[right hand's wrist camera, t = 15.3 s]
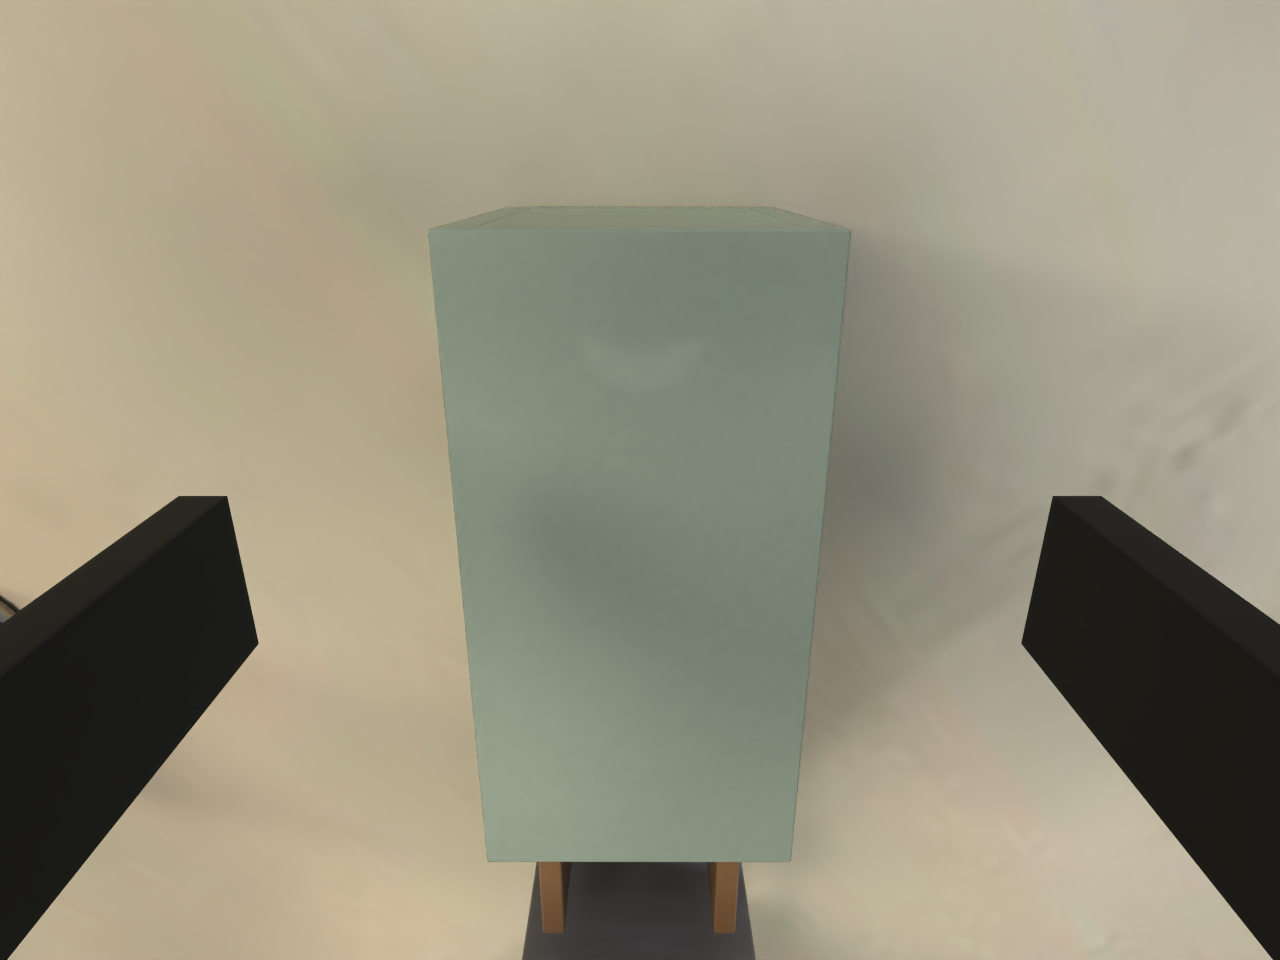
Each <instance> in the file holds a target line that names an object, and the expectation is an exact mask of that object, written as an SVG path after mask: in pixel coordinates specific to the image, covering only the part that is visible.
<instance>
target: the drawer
mask: <svg viewBox="0 0 1280 960" xmlns="http://www.w3.org/2000/svg"><path fill="white" fill-rule="evenodd" d="M522 960H756V959H755V952H754V945H753V938H752V931H751V924H750V918H749V911H748V904H747V897H746V890H745V883H744V876H743V870H742V863H741V862H537V864H536V870H535V877H534V884H533V890H532V897H531V904H530V910H529V917H528V924H527V930H526V937H525V944H524V951H523V957H522Z"/></svg>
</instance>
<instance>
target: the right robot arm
mask: <svg viewBox="0 0 1280 960" xmlns="http://www.w3.org/2000/svg"><path fill="white" fill-rule="evenodd" d="M258 644H259V643H258V638H257V634H256V629H255V624H254V620H253V615H252V610H251V606H250V601H249V596H248V592H247V587H246V582H245V578H244V573H243V568H242V564H241V559H240V554H239V550H238V545H237V540H236V536H235V531H234V526H233V522H232V517H231V512H230V508H229V503H228V498H227V496H178V497H177V498H176V499H174V500H173V501H171V502H170V503H169V504H167V505H166V506H165V507H163V508H162V509H160V510H159V511H158V512H156V513H155V514H153V515H152V516H151V517H149V518H148V519H146V520H145V521H144V522H142V523H141V524H139V525H138V526H137V527H135V528H134V529H133V530H131V531H130V532H128V533H127V534H126V535H124V536H123V537H121V538H120V539H119V540H117V541H116V542H114V543H113V544H112V545H110V546H109V547H108V548H106V549H105V550H103V551H102V552H101V553H99V554H98V555H96V556H95V557H94V558H92V559H91V560H89V561H88V562H87V563H85V564H84V565H83V566H81V567H80V568H78V569H77V570H76V571H74V572H73V573H71V574H70V575H69V576H67V577H66V578H64V579H63V580H62V581H60V582H59V583H57V584H56V585H55V586H53V587H52V588H51V589H49V590H48V591H46V592H45V593H44V594H42V595H41V596H39V597H38V598H37V599H35V600H34V601H32V602H31V603H30V604H28V605H27V606H26V607H24V608H23V609H21V610H20V611H19V612H17V613H16V614H14V615H13V616H12V617H10V618H9V619H7V620H6V621H5V622H3V623H2V624H1V625H0V960H7V959H8V958H9V957H10V955H11V954H12V953H13V952H14V950H15V949H16V948H17V946H18V945H19V944H20V943H21V941H22V940H23V939H24V938H25V936H26V935H27V934H28V933H29V931H30V930H31V929H32V928H33V926H34V925H35V924H36V923H37V921H38V920H39V919H40V918H41V916H42V915H43V914H44V913H45V911H46V910H47V909H48V908H49V906H50V905H51V904H52V903H53V901H54V900H55V899H56V897H57V896H58V895H59V894H60V892H61V891H62V890H63V889H64V887H65V886H66V885H67V884H68V882H69V881H70V880H71V879H72V877H73V876H74V875H75V874H76V872H77V871H78V870H79V869H80V867H81V866H82V865H83V864H84V862H85V861H86V860H87V859H88V857H89V856H90V855H91V854H92V852H93V851H94V850H95V848H96V847H97V846H98V845H99V843H100V842H101V841H102V840H103V838H104V837H105V836H106V835H107V833H108V832H109V831H110V830H111V828H112V827H113V826H114V825H115V823H116V822H117V821H118V820H119V818H120V817H121V816H122V815H123V813H124V812H125V811H126V810H127V808H128V807H129V806H130V805H131V803H132V802H133V801H134V799H135V798H136V797H137V796H138V794H139V793H140V792H141V791H142V789H143V788H144V787H145V786H146V784H147V783H148V782H149V781H150V779H151V778H152V777H153V776H154V774H155V773H156V772H157V771H158V769H159V768H160V767H161V766H162V764H163V763H164V762H165V761H166V759H167V758H168V757H169V756H170V754H171V753H172V752H173V750H174V749H175V748H176V747H177V745H178V744H179V743H180V742H181V740H182V739H183V738H184V737H185V735H186V734H187V733H188V732H189V730H190V729H191V728H192V727H193V725H194V724H195V723H196V722H197V720H198V719H199V718H200V717H201V715H202V714H203V713H204V712H205V710H206V709H207V708H208V707H209V705H210V704H211V703H212V701H213V700H214V699H215V698H216V696H217V695H218V694H219V693H220V691H221V690H222V689H223V688H224V686H225V685H226V684H227V683H228V681H229V680H230V679H231V678H232V676H233V675H234V674H235V673H236V671H237V670H238V669H239V668H240V666H241V665H242V664H243V663H244V661H245V660H246V659H247V658H248V656H249V655H250V654H251V652H252V651H253V650H254V649H255V647H256V646H257V645H258ZM1021 644H1022V645H1023V646H1024V647H1025V649H1026V650H1027V651H1028V652H1029V654H1030V655H1031V656H1032V658H1033V659H1034V660H1035V661H1036V663H1037V664H1038V665H1039V666H1040V668H1041V669H1042V670H1043V671H1044V673H1045V674H1046V675H1047V676H1048V678H1049V679H1050V680H1051V681H1052V683H1053V684H1054V685H1055V686H1056V688H1057V689H1058V690H1059V691H1060V693H1061V694H1062V695H1063V696H1064V698H1065V699H1066V700H1067V701H1068V703H1069V704H1070V705H1071V707H1072V708H1073V709H1074V710H1075V712H1076V713H1077V714H1078V715H1079V717H1080V718H1081V719H1082V720H1083V722H1084V723H1085V724H1086V725H1087V727H1088V728H1089V729H1090V730H1091V732H1092V733H1093V734H1094V735H1095V737H1096V738H1097V739H1098V740H1099V742H1100V743H1101V744H1102V745H1103V747H1104V748H1105V749H1106V750H1107V752H1108V753H1109V754H1110V756H1111V757H1112V758H1113V759H1114V761H1115V762H1116V763H1117V764H1118V766H1119V767H1120V768H1121V769H1122V771H1123V772H1124V773H1125V774H1126V776H1127V777H1128V778H1129V779H1130V781H1131V782H1132V783H1133V784H1134V786H1135V787H1136V788H1137V789H1138V791H1139V792H1140V793H1141V794H1142V796H1143V797H1144V798H1145V799H1146V801H1147V802H1148V803H1149V805H1150V806H1151V807H1152V808H1153V810H1154V811H1155V812H1156V813H1157V815H1158V816H1159V817H1160V818H1161V820H1162V821H1163V822H1164V823H1165V825H1166V826H1167V827H1168V828H1169V830H1170V831H1171V832H1172V833H1173V835H1174V836H1175V837H1176V838H1177V840H1178V841H1179V842H1180V843H1181V845H1182V846H1183V847H1184V848H1185V850H1186V851H1187V852H1188V854H1189V855H1190V856H1191V857H1192V859H1193V860H1194V861H1195V862H1196V864H1197V865H1198V866H1199V867H1200V869H1201V870H1202V871H1203V872H1204V874H1205V875H1206V876H1207V877H1208V879H1209V880H1210V881H1211V882H1212V884H1213V885H1214V886H1215V887H1216V889H1217V890H1218V891H1219V892H1220V894H1221V895H1222V896H1223V897H1224V899H1225V900H1226V901H1227V903H1228V904H1229V905H1230V906H1231V908H1232V909H1233V910H1234V911H1235V913H1236V914H1237V915H1238V916H1239V918H1240V919H1241V920H1242V921H1243V923H1244V924H1245V925H1246V926H1247V928H1248V929H1249V930H1250V931H1251V933H1252V934H1253V935H1254V936H1255V938H1256V939H1257V940H1258V941H1259V943H1260V944H1261V945H1262V947H1263V948H1264V949H1265V950H1266V952H1267V953H1268V954H1269V955H1270V957H1271V958H1272V959H1273V960H1280V625H1279V624H1278V623H1277V622H1275V621H1274V620H1273V619H1271V618H1270V617H1268V616H1267V615H1266V614H1264V613H1263V612H1261V611H1260V610H1259V609H1257V608H1256V607H1254V606H1253V605H1252V604H1250V603H1249V602H1248V601H1246V600H1245V599H1243V598H1242V597H1241V596H1239V595H1238V594H1236V593H1235V592H1234V591H1232V590H1231V589H1229V588H1228V587H1227V586H1225V585H1224V584H1223V583H1221V582H1220V581H1218V580H1217V579H1216V578H1214V577H1213V576H1211V575H1210V574H1209V573H1207V572H1206V571H1204V570H1203V569H1202V568H1200V567H1199V566H1197V565H1196V564H1195V563H1193V562H1192V561H1191V560H1189V559H1188V558H1186V557H1185V556H1184V555H1182V554H1181V553H1179V552H1178V551H1177V550H1175V549H1174V548H1172V547H1171V546H1170V545H1168V544H1167V543H1166V542H1164V541H1163V540H1161V539H1160V538H1159V537H1157V536H1156V535H1154V534H1153V533H1152V532H1150V531H1149V530H1147V529H1146V528H1145V527H1143V526H1142V525H1141V524H1139V523H1138V522H1136V521H1135V520H1134V519H1132V518H1131V517H1129V516H1128V515H1127V514H1125V513H1124V512H1122V511H1121V510H1120V509H1118V508H1117V507H1115V506H1114V505H1113V504H1111V503H1110V502H1109V501H1107V500H1106V499H1104V498H1103V497H1102V496H1053V498H1052V503H1051V508H1050V512H1049V517H1048V522H1047V526H1046V531H1045V536H1044V540H1043V545H1042V550H1041V554H1040V559H1039V564H1038V568H1037V573H1036V578H1035V582H1034V587H1033V592H1032V596H1031V601H1030V606H1029V610H1028V615H1027V620H1026V624H1025V629H1024V634H1023V638H1022V643H1021Z"/></svg>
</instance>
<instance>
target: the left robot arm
mask: <svg viewBox="0 0 1280 960" xmlns="http://www.w3.org/2000/svg"><path fill="white" fill-rule="evenodd" d="M14 614H16V613H15V612H14V611H13V610H12V609H11V608H9V607H8V606H7V605H6V604H4V603H3V602H1V601H0V625H1V624H2V623H3V622H5V621H6V620H7V619H9V618H10V617H12V616H13V615H14Z"/></svg>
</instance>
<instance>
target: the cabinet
mask: <svg viewBox="0 0 1280 960" xmlns="http://www.w3.org/2000/svg"><path fill="white" fill-rule="evenodd" d="M428 236H429V246H430V257H431V268H432V278H433V289H434V299H435V310H436V321H437V331H438V342H439V353H440V363H441V374H442V384H443V395H444V406H445V416H446V427H447V438H448V448H449V459H450V469H451V480H452V491H453V501H454V512H455V523H456V533H457V544H458V554H459V565H460V576H461V586H462V597H463V608H464V618H465V629H466V639H467V650H468V661H469V671H470V682H471V692H472V703H473V714H474V724H475V735H476V746H477V756H478V767H479V777H480V788H481V799H482V809H483V820H484V831H485V841H486V852H487V860H488V861H489V862H790V861H791V852H792V841H793V831H794V820H795V810H796V799H797V789H798V779H799V768H800V758H801V747H802V737H803V727H804V716H805V706H806V695H807V685H808V674H809V664H810V654H811V643H812V633H813V622H814V612H815V601H816V591H817V581H818V570H819V560H820V549H821V539H822V529H823V518H824V508H825V497H826V487H827V476H828V466H829V456H830V445H831V435H832V424H833V414H834V403H835V393H836V383H837V372H838V362H839V351H840V341H841V331H842V320H843V310H844V299H845V289H846V278H847V268H848V258H849V247H850V237H851V231H850V230H849V229H845V228H842V227H838V226H834V225H831V224H828V223H824V222H821V221H817V220H814V219H810V218H807V217H803V216H800V215H796V214H793V213H790V212H786V211H783V210H779V209H776V208H773V207H506V208H503V209H499V210H496V211H492V212H489V213H485V214H482V215H478V216H475V217H471V218H468V219H464V220H460V221H457V222H453V223H450V224H446V225H443V226H439V227H435V228H432V229H429V231H428Z"/></svg>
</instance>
